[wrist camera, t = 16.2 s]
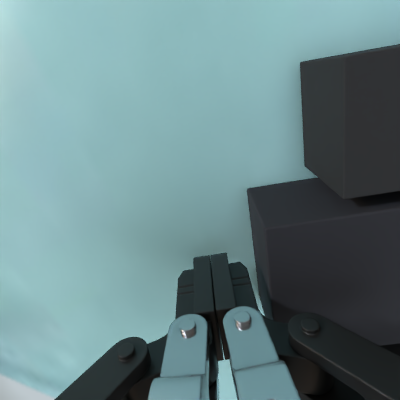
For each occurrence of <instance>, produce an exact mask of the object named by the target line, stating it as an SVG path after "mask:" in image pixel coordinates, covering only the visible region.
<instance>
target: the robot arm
mask: <svg viewBox="0 0 400 400" xmlns="http://www.w3.org/2000/svg"><path fill="white" fill-rule="evenodd" d="M193 267H194V269H191V270H185V271H183V272H182V274H181V275H180V277H179V278H178V289H177V303H176V317H175V320H174V321H173V322H172V324H171V325H170V327H169V331H168V334H166V335H165V336H164V337H162V338H160V339H158V340H156V341H154V342H151V343H149V344H146V342H145V341H144V340H143V339H141V338H139V337H129V338H126V339H123V340H121V341H119V342H118V343H116V344H115V345H114V346H113V347H112V348H110V349H109V350H108V351H107V352H106V353H105V354H104V355H103V356H102V357H101V358H100V359H98V360H97V361H96V362H95V363H94V364H93V365H92V366H91V367H90V368H89V369H88V370H86V371H85V372H84V373H83V374H82V375H81V376H80V377H79V378H78V379H77V380H76V381H74V382H73V383H72V384H71V385H70V386H69V387H68V388H67V389H66V390H65V391H64V392H62V393H61V394H60V395H59V396H58V397H57V398H56V399H55V400H219V379H218V361H220V360H224V359H223V351H224V356H225V360H227V359H230V365H231V371H232V376H233V382H234V386H235V391H236V395H237V400H400V356H398V355H396V354H395V353H393V352H391V351H389V350H387V349H385V348H383V347H381V346H379V345H377V344H375V343H373V342H371V341H369V340H367V339H365V338H363V337H362V336H360V335H358V334H356V333H354V332H352V331H350V330H348V329H346V328H344V327H342V326H340V325H338V324H336V323H334V322H332V321H331V320H329V319H327V318H325V317H323V316H321V315H318V314H315V313H300V314H297V315H295V316H293V317H292V318H291V319H290V321H289V323H283V322H276V321H272V320H270V319H268V318H266V317H264V316H263V315H262V314H261V313H260V311H259V309H258V306H257V303H256V299H255V296H254V292H253V288H252V285H251V281H250V278H249V274H248V271H247V268H246V267H245V266H244V265H243V264H242V263H241V262H237V263H230V264H229V263H228V258H227V253H221V254H214V255H211V260H210V255H208V256H201V257H195V258H194V259H193ZM222 345H223V349H222Z"/></svg>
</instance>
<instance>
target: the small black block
mask: <svg viewBox="0 0 400 400" xmlns="http://www.w3.org/2000/svg"><path fill="white" fill-rule="evenodd" d="M247 195H248V203H249V212H250V221H251V229H252V238H253V246H254V255H255V263H256V272H257V281H258V289H259V296H260V300H261V303H262V307H263V310H264V314H265V317H266V318H268V319H270V320H272V321H276V322H283V323H289V321H290V319H291V318H292V317H293V316H295V315H297V314H300V313H315V314H318V315H321V316H323V317H325V318H327V319H329V320H331V321H332V322H334V323H336V324H338V325H340V326H342V327H344V328H346V329H348V330H350V331H352V332H354V333H356V334H358V335H360V336H362V337H363V338H365V339H367V340H369V341H371V342H373V343H375V344H377V345H379V346H382V345H390V344H398V343H400V191H396V192H389V193H383V194H376V195H370V196H363V197H356V198H350V199H343V198H342V197H340V196H339V195H338V194H337V193H336V192H335V191H333V190H332V189H331V188H330V187H329V186H328V185H326V184H325V183H324V182H323V181H322V180H321V179H319V178H312V179H306V180H299V181H293V182H287V183H280V184H274V185H267V186H261V187H255V188H249V189H247Z"/></svg>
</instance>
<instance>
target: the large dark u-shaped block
mask: <svg viewBox="0 0 400 400" xmlns="http://www.w3.org/2000/svg"><path fill="white" fill-rule="evenodd" d="M300 72H301V95H302V117H303V139H304V162H305V167H307V168H308V169H309V170H310V171H311V172H312V173H314V174H315V175H316V176H317V177H318V178H319V179H321V180H322V181H323V182H324V183H325V184H326V185H328V186H329V187H330V188H331V189H332V190H333V191H335V192H336V193H337V194H338V195H339V196H340V197H342V198H343V199H350V198H356V197H363V196H370V195H376V194H383V193H389V192H396V191H400V44H398V45H392V46H387V47H381V48H375V49H370V50H364V51H359V52H353V53H348V54H342V55H337V56H331V57H325V58H320V59H314V60H309V61H303V62H300ZM381 347H383V348H385V349H387V350H389V351H391V352H393V353H395V354H396V355H398V356H400V343H398V344H390V345H382V346H381Z"/></svg>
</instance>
